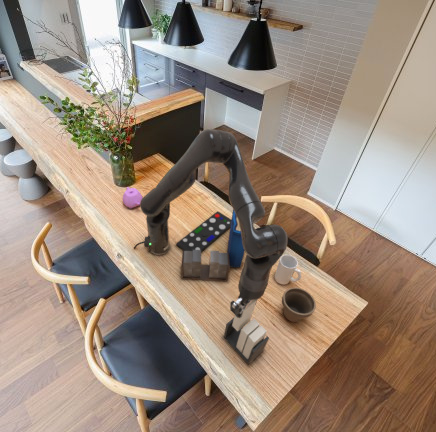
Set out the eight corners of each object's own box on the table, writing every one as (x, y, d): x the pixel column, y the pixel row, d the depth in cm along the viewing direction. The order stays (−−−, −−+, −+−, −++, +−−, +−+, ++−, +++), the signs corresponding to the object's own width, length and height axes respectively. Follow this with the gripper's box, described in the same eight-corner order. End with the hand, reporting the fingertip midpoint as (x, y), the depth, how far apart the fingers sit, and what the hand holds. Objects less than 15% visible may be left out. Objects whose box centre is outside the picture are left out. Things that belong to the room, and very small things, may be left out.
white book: (232, 325, 103) (237, 304, 93) (244, 315, 105) (250, 294, 96) (237, 331, 101) (243, 311, 92) (249, 321, 104) (256, 299, 94)
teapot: (137, 193, 170) (135, 180, 164) (148, 209, 161) (147, 195, 154) (119, 199, 167) (117, 186, 160) (130, 216, 157) (128, 202, 151)
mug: (270, 278, 129) (276, 260, 121) (279, 269, 132) (286, 251, 124) (291, 293, 124) (299, 276, 115) (300, 283, 127) (308, 266, 119)
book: (241, 271, 132) (250, 232, 114) (225, 268, 133) (231, 229, 115) (243, 234, 147) (252, 195, 129) (229, 232, 148) (235, 193, 130)
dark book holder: (223, 337, 111) (227, 318, 101) (238, 325, 115) (243, 305, 104) (248, 364, 104) (255, 347, 94) (263, 351, 108) (271, 332, 97)
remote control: (234, 224, 152) (235, 221, 151) (193, 258, 137) (194, 255, 136) (217, 213, 158) (217, 210, 157) (176, 245, 143) (176, 242, 141)
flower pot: (302, 300, 122) (309, 286, 115) (312, 327, 113) (320, 314, 106) (273, 301, 122) (279, 287, 114) (281, 328, 113) (288, 315, 106)
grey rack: (181, 279, 130) (181, 262, 121) (182, 264, 135) (182, 247, 127) (227, 281, 128) (230, 264, 120) (226, 266, 134) (229, 249, 125)
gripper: (260, 258, 90) (251, 289, 102) (225, 284, 84) (220, 314, 96) (280, 275, 86) (269, 305, 98) (245, 303, 80) (237, 332, 92)
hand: (244, 309), depth 97 cm, fingers closed on white book, 6 cm apart
